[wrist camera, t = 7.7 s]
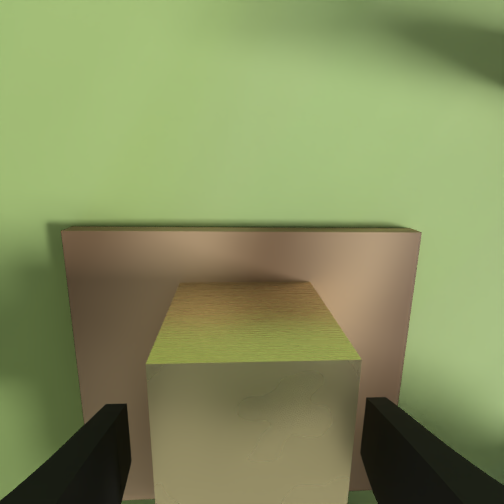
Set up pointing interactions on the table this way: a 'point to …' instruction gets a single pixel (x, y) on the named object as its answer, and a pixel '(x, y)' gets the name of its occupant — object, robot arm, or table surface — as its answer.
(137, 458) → the walnut board
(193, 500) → the tan rectangular block
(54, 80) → the table surface
